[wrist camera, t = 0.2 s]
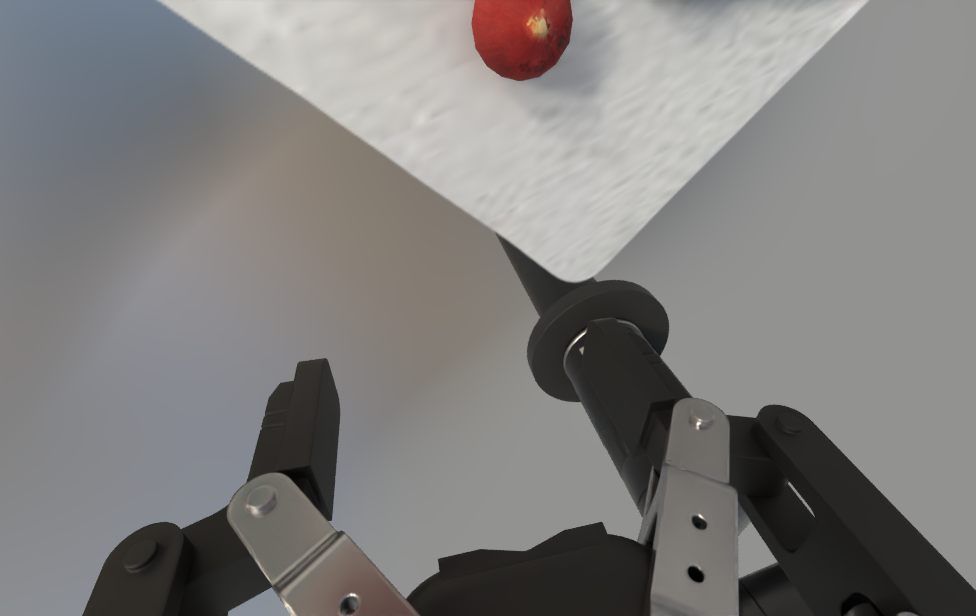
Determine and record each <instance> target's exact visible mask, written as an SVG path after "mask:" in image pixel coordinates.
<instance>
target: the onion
mask: <svg viewBox="0 0 976 616" xmlns="http://www.w3.org/2000/svg"><path fill="white" fill-rule="evenodd" d="M572 21H573V18H572V10H571V3H570V0H475V4H474V10H473V17H472V29H473V35H474V41H475V47H476V50H477V51H478V53H479V54H480V56H481V57H482V59H483V61H484V62H485V64H486V65H487V66H488V67H489V68H490V69H492V70H493V71H495V72H496V73H497V74H499V75H500V76H502V77H505V78H509V79H513V80H517V81H523V80H528V79H532V78H537V77H540V76H541V75H542V74H544V73H545V72H546V71H548V70H549V69H550V68H552V67H553V66H554V65H556V63H557V62H558V60H559V59H560V57H561V55H562V54H563V52H564V50H565V49H566V47H567V46H568V44H569V41H570V34H571V28H572Z"/></svg>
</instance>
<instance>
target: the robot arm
mask: <svg viewBox="0 0 976 616" xmlns="http://www.w3.org/2000/svg"><path fill="white" fill-rule="evenodd" d="M562 365H563V368H564V371H565V372H566V374H567V376H568V377H569V379H570V380H571V382H572V385H573V387H574V389H575V391H576V393H577V395H578V397H579V399H580V401H581V403H582V405H583V406H584V408H585V410H586V412H587V414H588V416H589V418H590V420H591V422H592V424H593V426H594V428H595V429H596V432H597V433H598V435H599V437H600V439H601V441H602V443H603V445H604V446H605V448H606V449H607V451H608V453H609V455H610V457H611V459H612V461H613V463H614V465H615V466H616V469H617V470H618V472H619V474H620V476H621V478H622V480H623V482H624V483H625V485H626V487H627V489H628V491H629V493H630V495H631V497H632V499H633V501H634V503H635V504H636V506H637V508H638V510H639V512H640V514H641V516H642V518H643V520H642V525H641V529H640V533H639V536H638V540H637V542H636V541H634V540H631V539H628V538H625V537H622V536H617V535H610V534H607V532H606V530H605V527H604V525H603V523H602V522H599V523H595V524H590V525H586V526H581V527H577V528H573V529H568V530H564V531H562V532H560V533H558V534H557V535H555V536H553V537H551V538H549V539H548V540H546V541H544V542H542V543H541V544H539V545H537V546H535V547H533V548H532V549H529V550H527V551H505V550H486V549H479V550H475V551H471V552H466V553H462V554H458V555H453V556H448V557H444V558H440V559H438V562H439V570H440V572H438V573H436V574H434V575H433V576H431V577H429V578H428V579H427V580H425V581H424V582H422V583H421V584H420V585H419V586H418V587H417V588H416V589H415V590H414V591H412V593H411V594H410V595H409V596H408V597H407V599H405V598H404V597H403V596H402V595H401V594H400V592H399V591H398V590H397V589H396V588H395V587H394V586H393V584H391V582H390V581H389V580H388V579H387V578H386V577H385V576H384V574H383V573H382V572H381V571H380V570H379V569H378V568H377V567H376V566H375V564H374V563H373V562H372V561H371V560H370V559H369V558H368V557H367V556H366V554H365V553H364V552H363V551H362V550H361V549H360V548H359V547H358V546H357V545H356V543H355V542H354V541H353V540H352V539H351V538H350V537H349V536H348V535H347V534H346V533H345V532H343V531H340V532H338V531H337V530H336V529H335V528H334V527H333V526H332V525H331V524H330V523H329V522H328V521H331V520H332V513H333V500H334V487H335V475H336V462H337V449H338V435H339V424H340V404H339V398H338V393H337V390H336V387H335V383H334V379H333V376H332V373H331V369H330V366H329V363H328V360H327V359H326V358H324V359H316V360H309V361H302V362H299V363H298V364H297V369H296V373H295V378H294V381H290V382H283V383H280V384H279V386H278V387H277V388H276V389H275V391H274V392H273V393H272V394H271V396H270V397H269V399H268V404H267V407H266V411H265V417H264V419H263V423H262V426H261V427H262V430H260V434H259V438H258V441H257V445H256V449H255V453H254V457H253V461H252V465H251V468H250V473H249V476H248V479H247V482H246V483H245V484H244V485H243V486H242V487H240V488H239V490H237V492H236V493H235V494H234V495H233V497H232V499H231V500H230V503H229V504H228V505H227V506H226V507H225V508H223V509H222V510H220V511H218V512H217V513H215V514H213V515H211V516H209V517H206V518H204V519H202V520H200V521H198V522H196V523H193V524H191V525H189V526H187V527H185V528H183V529H180V528H179V527H178V526H177V525H175V524H173V523H169V522H160V523H154V524H151V525H148V526H145V527H143V528H141V529H139V530H137V531H136V532H134V533H132V534H131V535H129V536H128V537H127V538H125V539H124V540H123V541H122V542H121V543H120V544H119V545H118V546H117V547H116V548H115V549H114V550H113V551H112V552H111V554H110V555H109V556H108V558H107V559H106V561H105V563H104V565H103V567H102V570H101V572H100V575H99V577H98V579H97V582H96V584H95V587H94V589H93V591H92V594H91V596H90V599H89V601H88V603H87V606H86V608H85V611H84V613H83V615H82V616H228V611H230V610H231V609H233V608H235V607H237V606H239V605H240V604H242V603H244V602H245V601H248V600H249V599H251V598H253V597H255V596H256V595H258V594H260V593H262V592H264V591H266V590H267V589H269V588H271V587H272V588H273V590H274V591H275V592H276V594H277V595H278V597H279V598H280V600H281V601H282V603H283V604H284V606H285V607H286V608H287V610H288V611H289V613H290V614H291V616H976V590H975V589H973V587H972V586H971V585H970V584H969V583H968V582H967V581H966V580H965V579H964V578H963V577H962V576H961V575H960V574H959V573H958V572H957V571H956V570H955V569H954V568H953V567H952V566H951V564H950V563H949V562H948V561H947V560H946V559H945V558H944V557H942V555H941V554H940V553H939V552H938V551H937V550H936V549H935V548H934V547H933V546H932V545H931V544H930V543H929V542H928V541H927V540H926V539H925V538H924V537H923V536H922V534H921V533H919V532H918V530H917V529H916V528H915V527H914V526H913V525H912V524H911V523H910V522H909V521H908V520H907V519H906V518H905V517H904V516H903V515H902V514H901V513H900V512H899V511H898V510H897V509H896V508H895V507H894V506H893V505H892V504H891V502H890V501H889V500H888V499H887V498H886V497H885V496H884V495H883V494H882V493H881V492H880V491H879V490H878V489H877V488H876V487H875V486H874V485H873V484H872V483H871V482H870V481H869V480H868V479H867V478H866V477H865V476H864V475H863V474H862V472H860V470H858V468H857V467H856V466H855V465H854V464H853V463H852V462H851V461H850V460H849V459H848V458H847V457H846V456H845V455H844V454H843V453H842V452H841V451H840V450H839V449H838V448H837V447H836V446H835V445H834V444H833V442H832V441H831V440H830V439H828V437H827V436H826V435H825V434H824V433H823V432H822V431H821V430H820V429H819V428H818V427H817V426H816V425H815V424H814V423H813V422H812V421H811V420H810V419H809V418H808V417H806V416H805V415H803V414H802V413H800V412H799V411H797V410H795V409H792V408H789V407H786V406H782V405H768V406H765V407H763V408H762V409H761V410H760V412H759V413H758V416H757V417H756V418H751V417H741V416H731V415H725V414H724V412H723V411H722V410H721V409H720V408H718V407H717V406H715V405H713V404H712V403H710V402H708V401H705V400H703V399H698V398H693V397H692V396H691V395H690V393H689V392H688V391H687V390H686V388H685V387H684V386H683V385H682V383H681V382H680V381H679V380H678V379H677V377H676V376H675V375H674V374H673V372H672V371H671V370H670V369H669V367H668V366H667V365H666V364H665V363H664V361H663V360H662V359H661V357H660V356H659V355H658V354H657V352H656V351H655V350H654V349H653V347H652V346H651V345H650V344H649V342H648V341H647V340H646V339H645V337H644V336H643V335H642V333H641V331H640V330H639V329H638V327H637V326H636V325H635V324H634V323H632V322H631V321H629V320H626V319H623V318H605V319H598V320H591V321H589V323H588V326H586V327H584V328H583V329H581V330H580V331H579V332H578V333H577V334H575V335H574V337H573V338H572V339H571V340H570V341H569V343H568V344H567V346H566V348H565V350H564V353H563V357H562ZM788 482H790V483H791V484H792V485H793V487H794V488H795V489H796V490H797V492H798V493H799V494H800V495H801V497H802V498H803V499H804V500H805V502H807V504H808V505H809V507H810V508H811V510H812V511H813V513H814V516H815V517H814V516H813V515H812V514H811V513H810V511H809V510H808V509H807V507H806V506H805V505H804V504H803V502H802V501H801V500H800V499H799V497H798V496H797V495H796V493H795V492H794V491H793V490H792V488H791V487H790V486H789V485H788ZM750 522H752V524H753V525H754V527H755V528H756V530H757V531H758V533H759V534H760V536H761V537H762V539H763V540H764V542H765V543H766V545H767V546H768V548H769V549H770V551H771V552H772V554H773V555H774V557H775V558H776V560H777V561H778V562H777V563H774V564H772V565H769V566H767V567H765V568H762V569H760V570H758V571H755V572H753V573H751V574H748V575H746V576H744V577H741V578H739V579H738V536H739V535H740V533H741V532H742V531H743V530H744V529H745V528H746V527H747V526H748V525H749V524H750Z"/></svg>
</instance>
